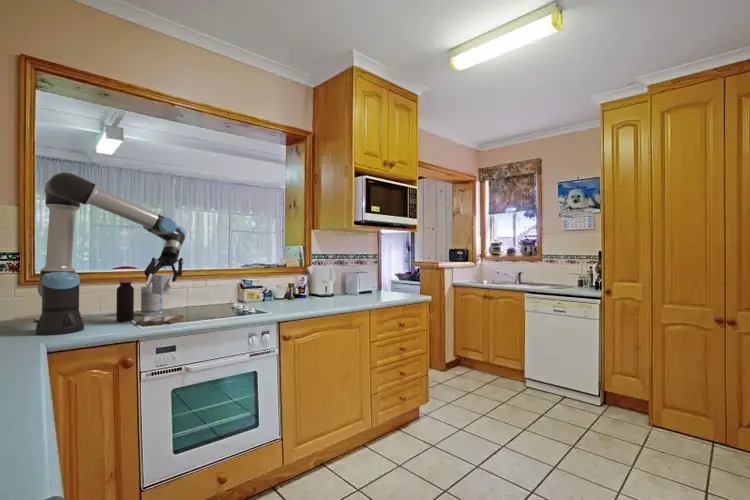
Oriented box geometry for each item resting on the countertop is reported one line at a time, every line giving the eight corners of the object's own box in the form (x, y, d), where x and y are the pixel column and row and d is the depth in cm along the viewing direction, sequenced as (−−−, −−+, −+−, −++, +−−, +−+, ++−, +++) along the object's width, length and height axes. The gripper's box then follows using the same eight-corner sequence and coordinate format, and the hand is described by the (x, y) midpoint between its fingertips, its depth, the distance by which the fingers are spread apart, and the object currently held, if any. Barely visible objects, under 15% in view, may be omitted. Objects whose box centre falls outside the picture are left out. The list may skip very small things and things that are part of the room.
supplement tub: (164, 314, 199) (165, 286, 199) (143, 316, 192) (144, 287, 192) (159, 312, 206) (159, 284, 206) (138, 314, 199) (138, 285, 199)
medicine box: (170, 294, 178) (171, 275, 178) (160, 294, 174) (161, 275, 175) (161, 292, 182) (161, 274, 183) (151, 293, 179) (152, 274, 179)
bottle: (117, 322, 175) (118, 278, 176) (115, 320, 181) (115, 277, 181) (134, 320, 180) (135, 277, 180) (132, 319, 185) (132, 277, 185)
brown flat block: (135, 325, 168) (135, 317, 168) (151, 318, 186) (151, 311, 186) (170, 324, 171) (170, 316, 171) (183, 318, 188) (183, 310, 189)
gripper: (195, 256, 196) (185, 291, 180) (149, 256, 192) (135, 291, 176) (192, 245, 190) (181, 280, 174) (145, 245, 187) (130, 280, 171)
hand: (158, 286), depth 175 cm, fingers closed on medicine box, 8 cm apart
